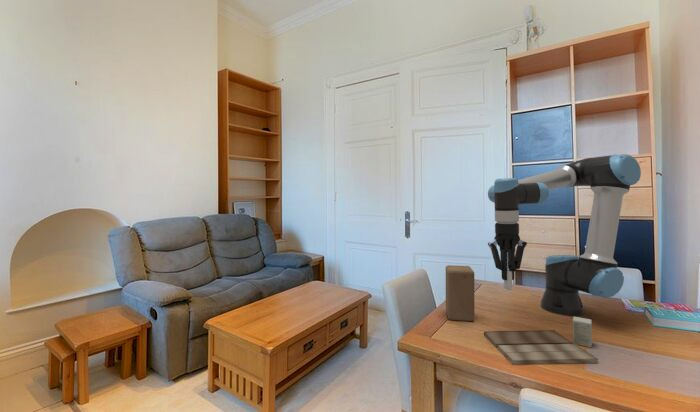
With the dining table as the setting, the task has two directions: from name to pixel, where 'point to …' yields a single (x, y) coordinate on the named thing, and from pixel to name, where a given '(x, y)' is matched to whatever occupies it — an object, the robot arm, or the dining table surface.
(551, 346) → the laid board
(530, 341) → the plank
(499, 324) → the dining table surface
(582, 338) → the small box
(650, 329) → the dining table surface
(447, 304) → the wooden block
